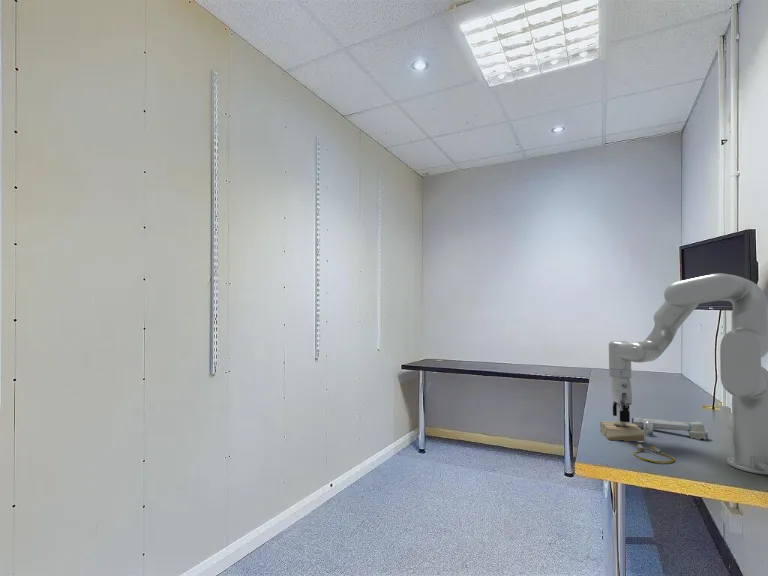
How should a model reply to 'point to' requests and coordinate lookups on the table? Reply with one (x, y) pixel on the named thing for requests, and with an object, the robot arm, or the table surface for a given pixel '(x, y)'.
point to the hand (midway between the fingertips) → (621, 418)
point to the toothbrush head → (676, 427)
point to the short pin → (648, 427)
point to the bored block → (621, 431)
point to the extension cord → (654, 450)
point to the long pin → (619, 423)
